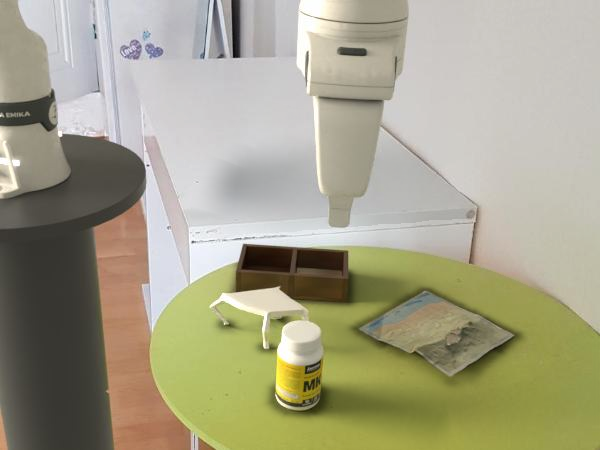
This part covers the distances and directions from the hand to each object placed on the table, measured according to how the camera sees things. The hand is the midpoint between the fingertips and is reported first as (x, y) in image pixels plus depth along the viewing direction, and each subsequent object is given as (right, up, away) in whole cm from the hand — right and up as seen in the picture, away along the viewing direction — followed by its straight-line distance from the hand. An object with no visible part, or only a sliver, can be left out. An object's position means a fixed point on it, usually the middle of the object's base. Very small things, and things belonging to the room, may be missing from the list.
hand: (339, 200), depth 68 cm
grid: (-4, -10, +31) cm, 33 cm away
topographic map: (+13, -15, +23) cm, 30 cm away
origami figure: (-8, -15, +21) cm, 27 cm away
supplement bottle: (-4, -21, +11) cm, 24 cm away
